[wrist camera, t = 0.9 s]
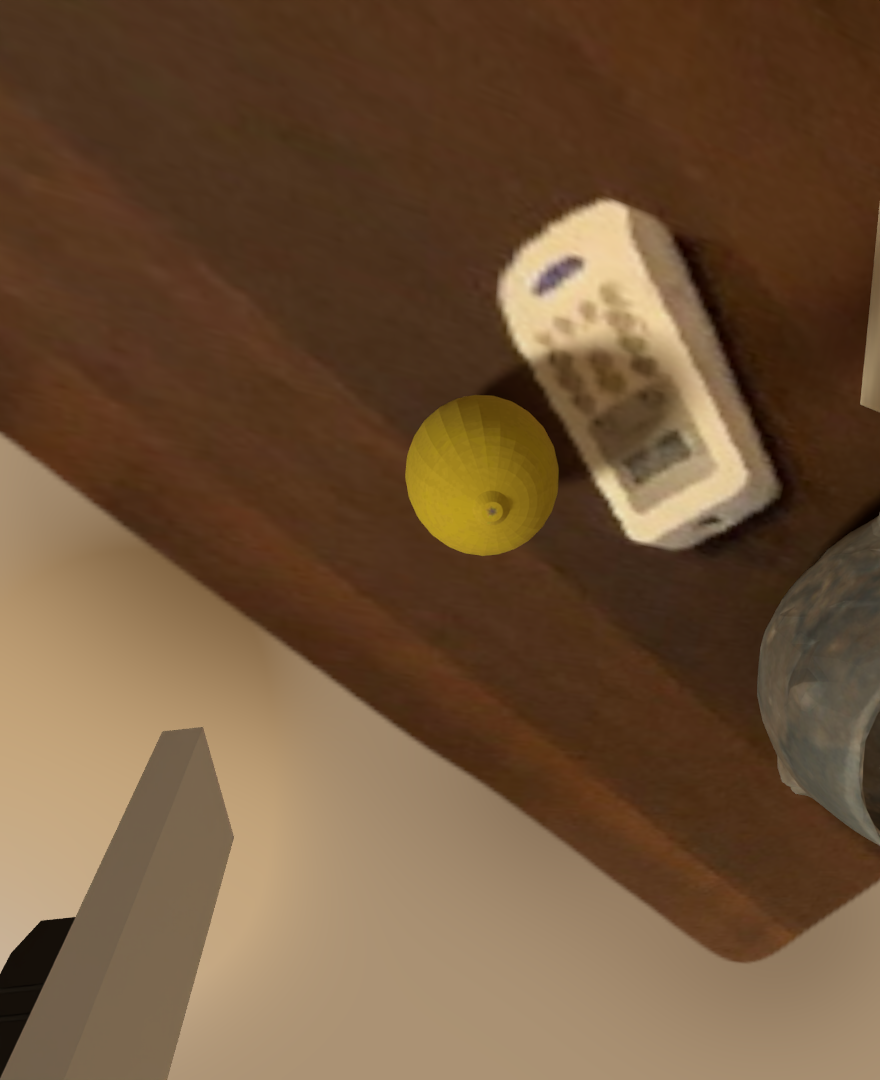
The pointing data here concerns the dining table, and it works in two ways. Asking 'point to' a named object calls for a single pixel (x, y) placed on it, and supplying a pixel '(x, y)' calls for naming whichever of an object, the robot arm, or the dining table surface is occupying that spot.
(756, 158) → the dining table surface
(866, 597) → the bowl
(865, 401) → the birch box
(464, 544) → the lemon
